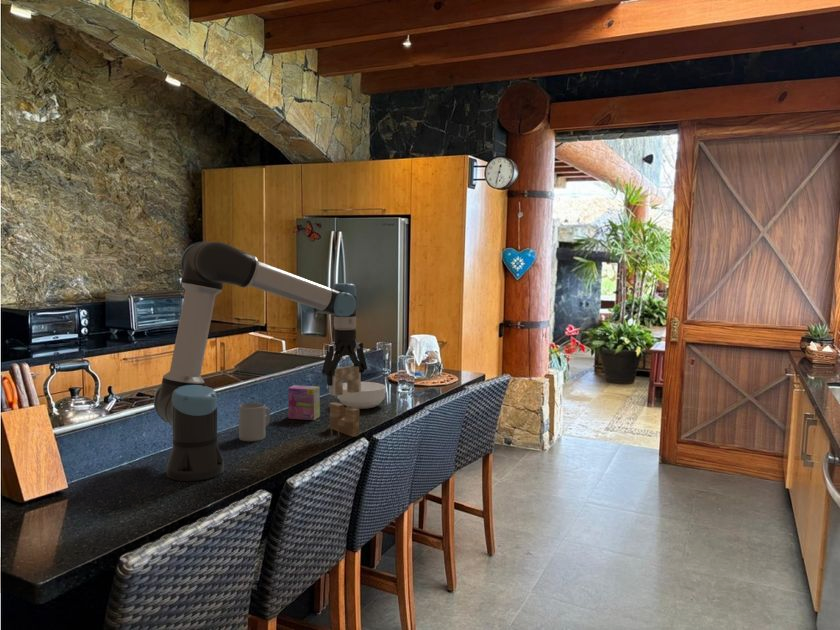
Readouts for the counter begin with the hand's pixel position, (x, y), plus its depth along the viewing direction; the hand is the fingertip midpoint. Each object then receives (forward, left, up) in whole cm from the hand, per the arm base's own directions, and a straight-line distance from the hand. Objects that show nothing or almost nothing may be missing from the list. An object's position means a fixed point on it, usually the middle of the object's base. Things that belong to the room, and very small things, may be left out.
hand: (344, 392), depth 221 cm
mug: (-27, +13, -14) cm, 33 cm away
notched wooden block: (0, 0, -14) cm, 14 cm away
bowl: (+27, +27, -14) cm, 41 cm away
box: (-1, +25, -14) cm, 29 cm away
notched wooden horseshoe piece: (0, 0, 0) cm, 0 cm away
